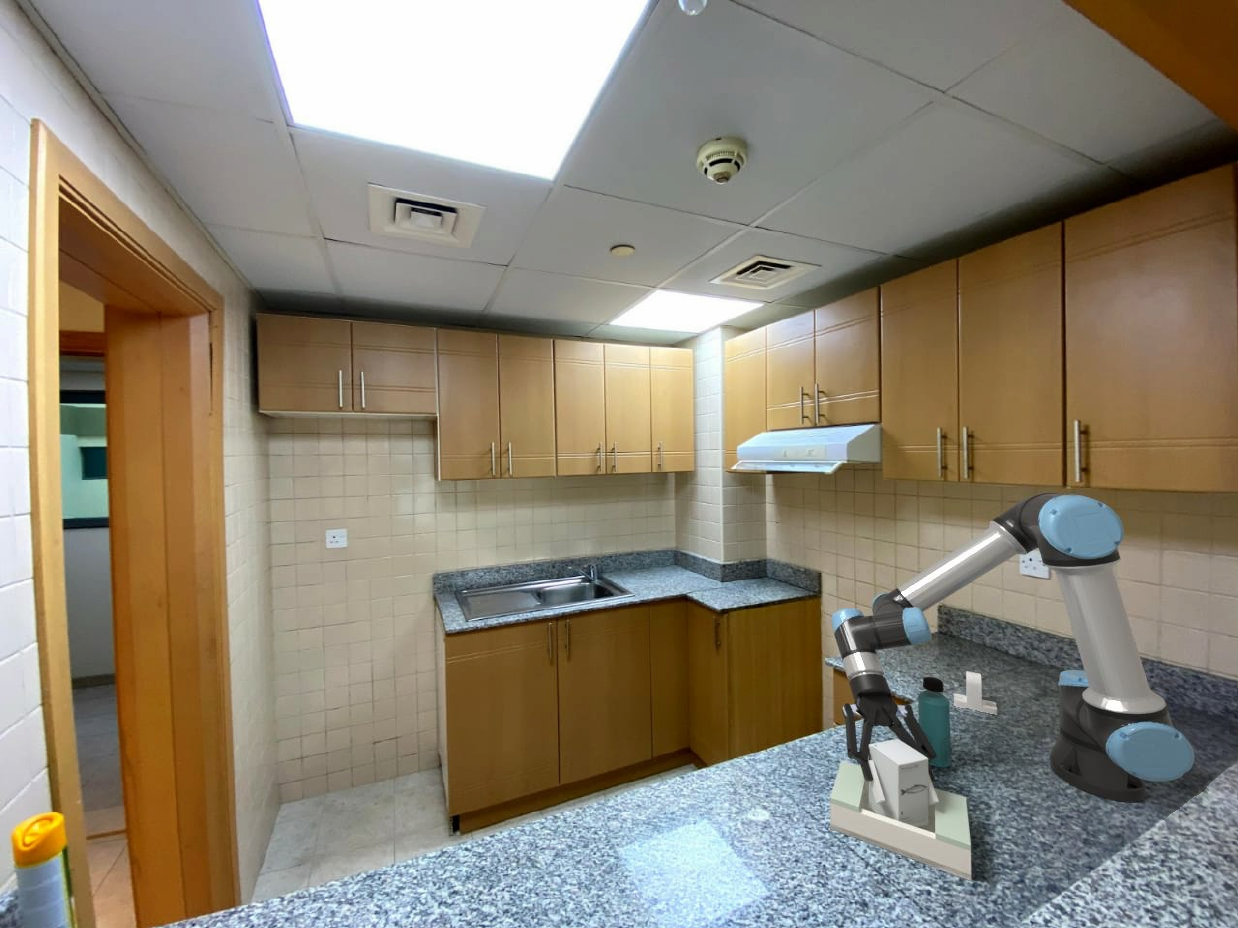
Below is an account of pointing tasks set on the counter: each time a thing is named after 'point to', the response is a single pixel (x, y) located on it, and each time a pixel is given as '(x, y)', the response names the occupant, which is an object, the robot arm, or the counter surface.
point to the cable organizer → (974, 696)
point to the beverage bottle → (935, 720)
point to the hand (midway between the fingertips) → (907, 802)
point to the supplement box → (900, 782)
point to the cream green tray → (904, 825)
